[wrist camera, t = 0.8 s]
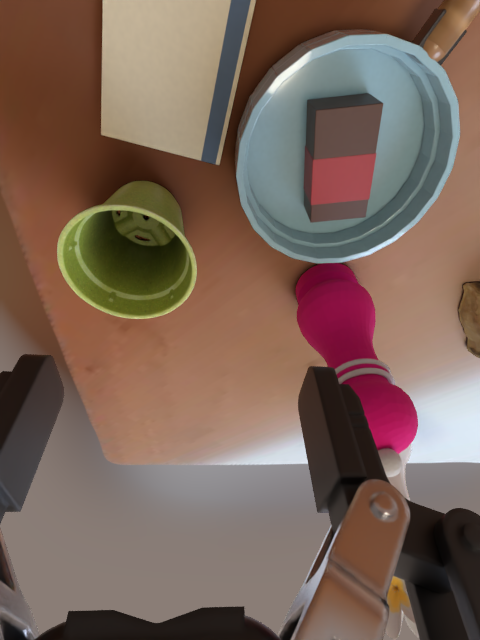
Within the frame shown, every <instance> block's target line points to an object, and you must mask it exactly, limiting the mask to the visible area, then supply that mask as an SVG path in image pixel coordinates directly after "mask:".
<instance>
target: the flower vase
mask: <svg viewBox="0 0 480 640" xmlns="http://www.w3.org/2000/svg"><path fill="white" fill-rule="evenodd" d="M411 451H412V442H411V444H410V445H409V446H408V448H406V449H405V450H403V451H402V452H401V453H399V456H400V458H401V460H402V469H401V471H400V472H399V474H397V475H396V476H393V477H387V478H388V480H389V482H390V483H391V485H393V486H394V487H395V488H396V489H397V490H399V492H400V493H401V494H402V495H403V497H404V498H406V499H407V500H409V501H410V498H409V494H408V491H407V487H406V482H405V466H406V463H407V462H408V460H409V458H410V455H411ZM387 603H388V605H389V619H388V623H387V627H386V630H385V631H386V633H387V634H388V636H389V637H390V638H392V639H396V638H398V636H399V634H400V631H401V624H402V620H403V617H404V615H405V620H406V623H407V625H408V626H409V628H410V629H411V630H412V632H413V633H414V634H415V635H416V636H417V637H418V638H419V634H418V630H417V627H416V623H415V619H414V615H413V611H412V608H411V604H410V600H409V596H408V594H407V589H406V585H405V581H404V580H403V579H400V578H398V577H395V576H393V578H392V582H391V585H390V588H389V592H388V596H387Z"/></svg>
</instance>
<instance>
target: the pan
mask: <svg viewBox="0 0 480 640" xmlns="http://www.w3.org/2000/svg"><path fill="white" fill-rule="evenodd" d="M406 53H407V54H411V55H413V56H415V57H416V58H417V59H418V60H419V61H420V62H421V63H422V64H423V65H421V64H419V63H416V62H415V61H414V60H413V59H412V58H411V57H410V56H408V55H407V54H406ZM365 93H369V94H371V95H372V96H374V97H375V98H376V99H378V100H379V101H381V102H382V103H383V109H382V116H381V122H380V129H379V135H378V141H377V148H376V160H375V166H374V172H373V179H372V185H371V191H370V198H369V199H368V205H367V212H366V217H364V218H353V219H343V220H333V221H323V222H313V223H311V222H310V220H309V217H308V215H307V212H306V210H305V207H304V162H305V146H306V122H307V100H310V99H319V98H328V97H337V96H346V95H356V94H365ZM459 138H460V123H459V107H458V99H457V97H456V94H455V92H454V90H453V87H452V85H451V83H450V80H449V78H448V76H447V73H446V71H445V70H444V68H443V67H442V66H441V65H440V64H439V63H437V62H436V61H435V60H433V59H431V58H430V57H429V56H428V54H427V52H426V51H425V50H424V49H423V48H422V47H420V46H419V45H416V44H414V43H411V42H408V41H406V40H403V39H400V38H397V37H395V36H392V35H389V34H386V33H382V32H378V31H373V30H368V29H357V30H335V31H331V32H328V33H326V34H323V35H321V36H318V37H316V38H313V39H311V40H308V41H306V42H303V43H301V44H299V45H298V46H297V47H295V48H294V49H293V50H292V51H290V52H289V53H288V54H287V55H285V56H284V57H283V58H282V59H280V60H279V61H278V62H276V63H275V64H274V65H273V66H272V67H271V68H270V69H269V70H268V72H267V73H266V75H265V76H264V77H263V79H262V80H261V81H260V83H259V84H258V86H257V87H256V88H255V90H254V91H253V92H252V94H251V95H250V97H249V100H248V102H247V105H246V107H245V110H244V113H243V115H242V118H241V120H240V123H239V126H238V130H237V140H236V149H235V170H236V179H237V185H238V191H239V196H240V202H241V206H242V208H243V210H244V212H245V214H246V216H247V218H248V220H249V222H250V224H251V225H252V227H253V229H254V230H255V231H256V232H257V233H258V234H259V235H260V236H261V237H262V238H263V239H264V240H265V241H266V242H267V243H268V244H269V245H270V246H271V247H272V248H274V249H276V250H278V251H280V252H282V253H284V254H285V255H287V256H289V257H291V258H293V259H298V260H303V261H307V262H312V263H317V264H318V263H342V262H346V261H349V260H353V259H357V258H360V257H364V256H367V255H370V254H372V253H374V252H376V251H378V250H379V249H381V248H383V247H385V246H387V245H389V244H391V243H393V242H394V241H396V240H397V239H398V238H399V237H401V236H402V235H403V234H404V233H405V232H407V231H408V230H409V229H410V228H412V227H413V226H414V225H415V224H416V223H417V222H418V221H419V220H420V219H421V218H422V217H423V215H424V214H425V213H426V212H427V210H428V209H429V208H430V207H431V205H432V204H433V203H434V202H435V200H436V199H437V198H438V196H439V194H440V192H441V190H442V188H443V186H444V184H445V182H446V180H447V178H448V176H449V174H450V172H451V170H452V167H453V165H454V160H455V156H456V151H457V147H458V142H459Z"/></svg>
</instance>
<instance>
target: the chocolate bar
mask: <svg viewBox="0 0 480 640" xmlns="http://www.w3.org/2000/svg"><path fill="white" fill-rule="evenodd" d="M382 109H383V103H382V102H381V101H379V100H378V99H376V98H375V97H374V96H372V95H371V94H369V93H365V94H356V95H346V96H337V97H328V98H319V99H310V100H307V122H306V146H305V162H304V207H305V210H306V212H307V215H308V217H309V220H310V222H311V223H313V222H323V221H333V220H343V219H353V218H364V217H366V212H367V205H368V199H369V198H370V191H371V185H372V179H373V172H374V166H375V160H376V148H377V141H378V135H379V129H380V122H381V116H382Z"/></svg>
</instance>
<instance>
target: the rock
mask: <svg viewBox="0 0 480 640" xmlns="http://www.w3.org/2000/svg"><path fill="white" fill-rule="evenodd" d="M463 289H464V294H463V297H462V301H461V303H460V308H459V309H458V311H459V315H460V322H461V325H462V326H463V327H464V333H465V335H466V336H467V338H468V341H467V349H468V351H469V352H471V353H472V354H473V355H475V356H476V357H478V358H480V282H475V283H465V284H464V285H463Z"/></svg>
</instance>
